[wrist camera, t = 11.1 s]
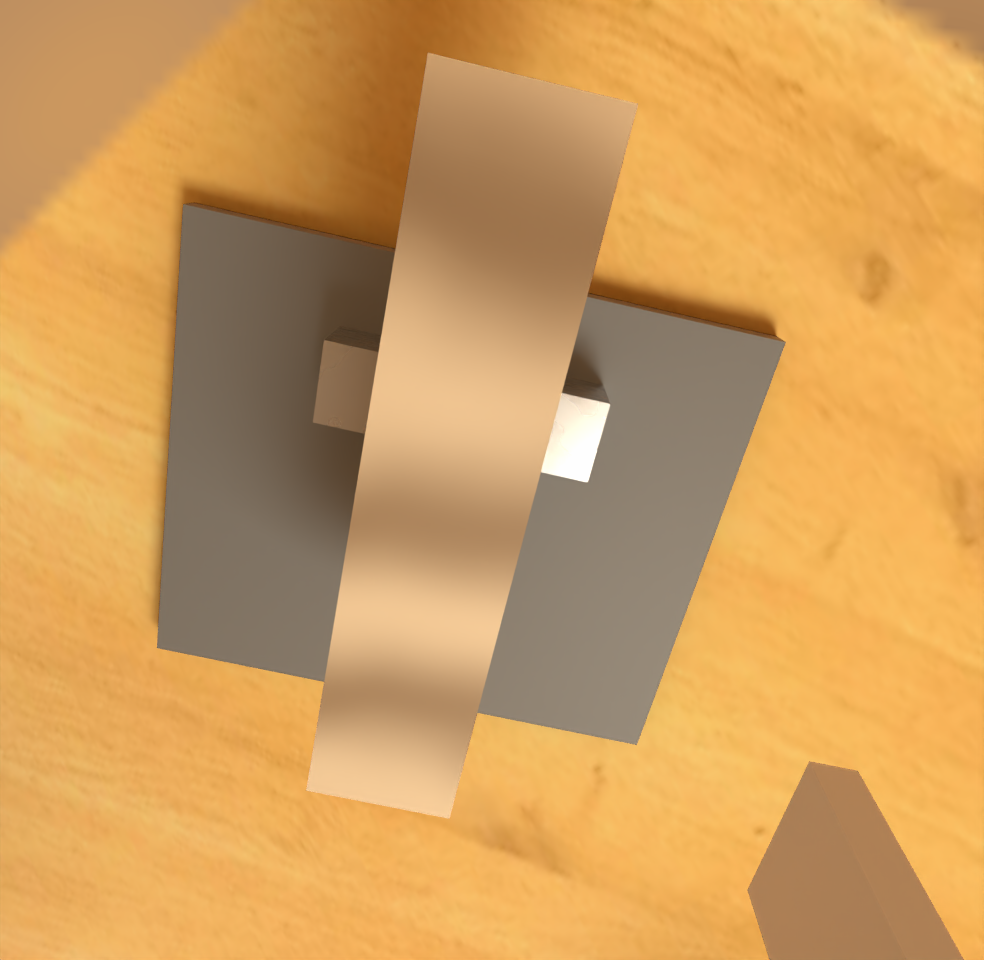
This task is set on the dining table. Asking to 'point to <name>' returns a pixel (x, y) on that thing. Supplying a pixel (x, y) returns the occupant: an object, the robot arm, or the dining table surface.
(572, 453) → the fulcrum ridge
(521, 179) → the beech bar
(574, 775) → the dining table surface
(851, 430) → the dining table surface
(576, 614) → the slate board
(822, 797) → the robot arm
